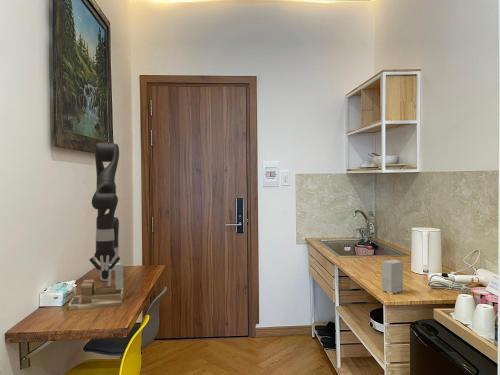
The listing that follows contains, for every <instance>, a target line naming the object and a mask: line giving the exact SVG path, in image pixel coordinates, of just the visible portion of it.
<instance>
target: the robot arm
mask: <svg viewBox="0 0 500 375" xmlns="http://www.w3.org/2000/svg"><path fill="white" fill-rule="evenodd" d="M94 157H95V158H94V159H95V169H96V171H95V172H96V190H95V192H94V194H93V196H92V198H91V207H93V209H95V210H97V216H96V222H95V223H96V229H95V230H96V231H95V251H94V255H93V256H92V257H90V258H89V262H90V263H91V264H92V265H93V266H94V267H95V268H96V270H98V271H100V275H99V276H100V277H99V279H100V280H99V281H102V282H108V277H109V270H110V269H112V268H113V267H114V266H115V265H116V263H120V262H119V261H120V260H121V256H120V255H119V254H120V253H119V252H120V251H119V232H120V220H119V218H118V217H116V216H115V214H116V210H117V206H118V204H119V203H118V202H119V198H118V196H117V185H116V183H115V181H116V179H115V178H116V174H117V173H116V172H117V169H118V165H119V159H120V147H119V144H117V143H114V142H112V143H111V142H97V143H95V146H94ZM104 163H108V165H107V166H106V167H105V166H104ZM107 211H108V212H107ZM98 262H99V263H98ZM110 264H111V266H109V265H110Z"/></svg>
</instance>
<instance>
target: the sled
mask: <svg viewBox="0 0 500 375" xmlns="http://www.w3.org/2000/svg"><path fill="white" fill-rule="evenodd" d="M94 290H95V296H96V295H109V294H116V285H115V270H112V271H111V286H108V285H100V286H96V287H95V288H94Z"/></svg>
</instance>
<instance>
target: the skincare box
mask: <svg viewBox="0 0 500 375" xmlns="http://www.w3.org/2000/svg"><path fill="white" fill-rule="evenodd" d="M109 266H111V264H110V265H109ZM112 270H115V285H116V289H121V288H122V287H123V288H124V265H123V263H121V262H119V263H116V265H115V266H114V267H113V268H112V269H110V270H109V277H108V281H107V286H111V271H112Z"/></svg>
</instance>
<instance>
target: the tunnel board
mask: <svg viewBox="0 0 500 375" xmlns="http://www.w3.org/2000/svg"><path fill="white" fill-rule="evenodd" d="M80 286H81V290H80V291H81V294H80V295H73V296H72V297H71V299H70V300H69V303H68V304H67V305H66V311H71V310H72V311H73V309H74V310H83V309H84V310H86V309H96V308H97V309H98V308H108V307H109V308H110V307H117V306H119V307H120V306H122V305H123V300H124V286H123V287H122V288H121V289H116V294H109V295H96V296H95V279H93V278H91V279H84V280H83V281H82V283H81V285H80Z"/></svg>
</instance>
